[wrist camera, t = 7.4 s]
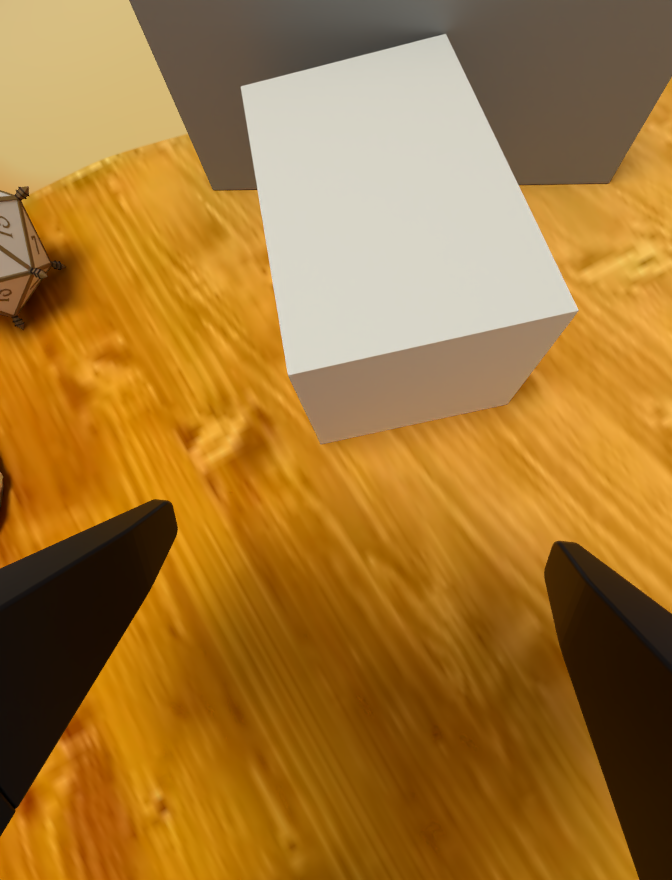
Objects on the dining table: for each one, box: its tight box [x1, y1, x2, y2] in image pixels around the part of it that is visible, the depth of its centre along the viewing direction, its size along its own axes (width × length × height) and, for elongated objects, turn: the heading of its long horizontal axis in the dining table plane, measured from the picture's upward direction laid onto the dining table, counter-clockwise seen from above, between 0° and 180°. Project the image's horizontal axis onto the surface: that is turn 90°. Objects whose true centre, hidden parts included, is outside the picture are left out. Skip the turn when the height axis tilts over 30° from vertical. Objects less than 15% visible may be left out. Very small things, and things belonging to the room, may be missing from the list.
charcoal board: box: [129, 0, 672, 190], centre depth 22 cm, size 26×2×10 cm, turn 83°
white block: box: [241, 34, 579, 444], centre depth 20 cm, size 16×10×8 cm, turn 11°
